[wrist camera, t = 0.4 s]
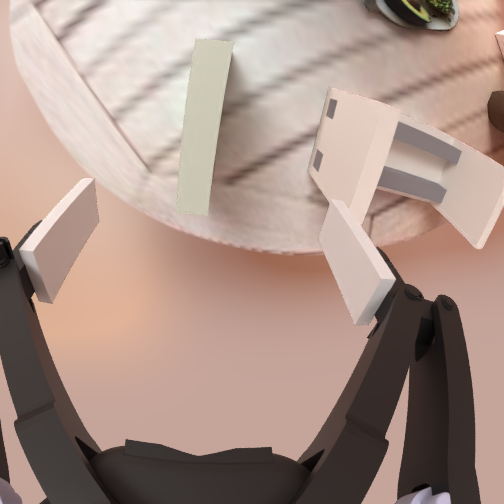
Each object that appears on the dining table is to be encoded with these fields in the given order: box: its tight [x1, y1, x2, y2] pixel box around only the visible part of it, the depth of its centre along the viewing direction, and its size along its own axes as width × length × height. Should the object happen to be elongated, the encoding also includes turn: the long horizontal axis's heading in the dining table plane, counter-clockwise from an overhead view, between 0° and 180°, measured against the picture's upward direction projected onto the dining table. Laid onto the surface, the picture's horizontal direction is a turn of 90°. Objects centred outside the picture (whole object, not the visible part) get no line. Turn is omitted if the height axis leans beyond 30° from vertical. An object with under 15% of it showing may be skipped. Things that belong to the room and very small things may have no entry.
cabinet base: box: [307, 87, 504, 249], centre depth 30 cm, size 24×12×14 cm, turn 80°
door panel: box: [176, 39, 234, 216], centre depth 27 cm, size 16×3×12 cm, turn 170°
